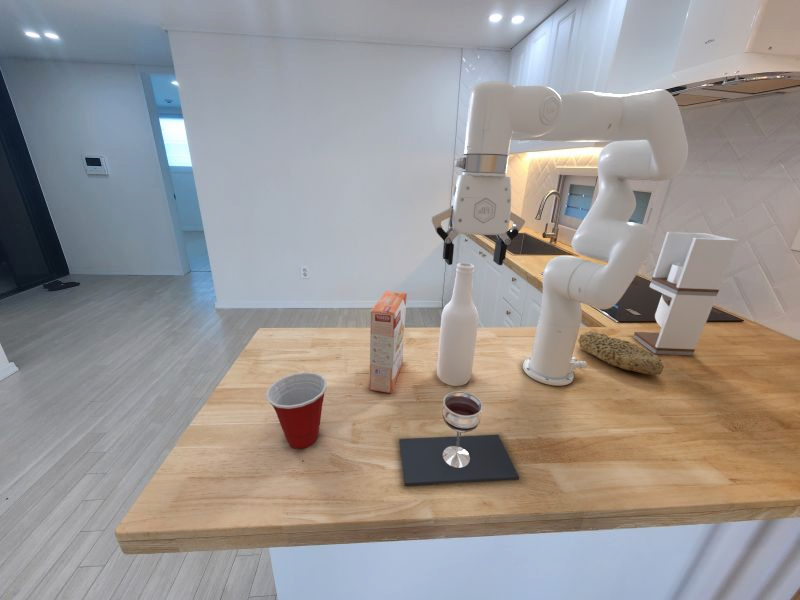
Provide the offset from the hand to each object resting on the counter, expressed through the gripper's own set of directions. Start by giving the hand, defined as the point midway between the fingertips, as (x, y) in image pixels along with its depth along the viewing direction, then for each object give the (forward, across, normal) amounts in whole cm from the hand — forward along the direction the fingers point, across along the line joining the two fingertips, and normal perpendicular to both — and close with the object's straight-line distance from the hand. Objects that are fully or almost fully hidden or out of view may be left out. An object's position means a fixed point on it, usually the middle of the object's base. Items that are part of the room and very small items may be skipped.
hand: (473, 263), depth 64 cm
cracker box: (+34, -15, +12) cm, 39 cm away
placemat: (+33, -4, -15) cm, 37 cm away
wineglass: (+33, -4, -15) cm, 36 cm away
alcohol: (+34, +2, +11) cm, 35 cm away
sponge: (+34, +51, +16) cm, 63 cm away
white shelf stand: (+34, +73, +25) cm, 84 cm away
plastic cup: (+34, -33, -8) cm, 48 cm away
